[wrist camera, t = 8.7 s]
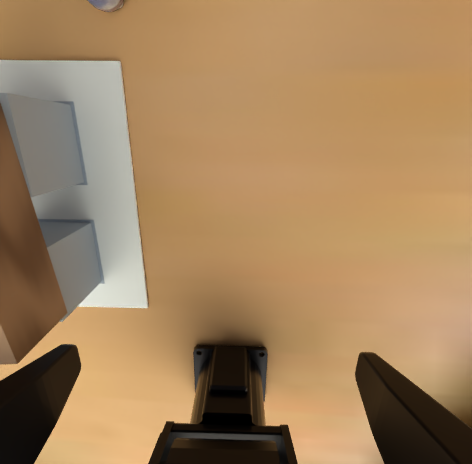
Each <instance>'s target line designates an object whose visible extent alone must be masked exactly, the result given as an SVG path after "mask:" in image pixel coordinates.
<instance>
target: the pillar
mask: <svg viewBox="0 0 472 464" xmlns="http://www.w3.org/2000/svg"><path fill="white" fill-rule="evenodd" d="M39 225H40V228H41V231H42V234H43V237H44V240H45V243H46V247H47V250H48V253H49V256H50V259H51V262H52V265H53V268H54V272H55V275H56V278H57V281H58V284H59V287H60V290H61V294H62V297H63V300H64V303H65V306H66V309H67V312H68V313H67V314H66V315H65V316H64V317H63V318H62V319H61V320H60V321H61V322H63V321H64V320H65V319H66V318H67V317H68V316H69V315H70V313H71V312H72V311H73V310H74V309H75V308H76V307H77V306H78V305H79V304H80V303H81V302H82V301H83V300H84V299H85V298H86V297H87V296H88V295H89V294H90V293H91V292H92V291H93V290H94V289H95V288H96V287H97V286H98V285H99V284H100V283H101V276H100V270H99V264H98V259H97V253H96V247H95V242H94V236H93V230H92V225H91V223H85V222H39Z"/></svg>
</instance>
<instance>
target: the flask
mask: <svg viewBox="0 0 472 464" xmlns="http://www.w3.org/2000/svg"><path fill="white" fill-rule="evenodd" d="M88 1H89V2H90V3H91V4H92V5H93V6H94V7H95V8H97V9H99V10H102V11H106V12H111V11H115V10H117V9H118V8H122V6H123V2H124V0H88Z"/></svg>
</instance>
